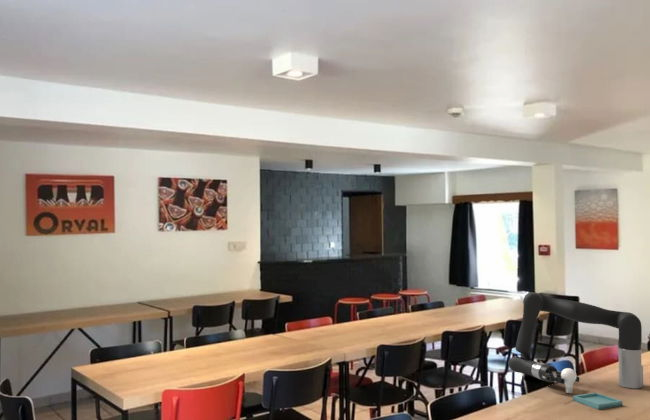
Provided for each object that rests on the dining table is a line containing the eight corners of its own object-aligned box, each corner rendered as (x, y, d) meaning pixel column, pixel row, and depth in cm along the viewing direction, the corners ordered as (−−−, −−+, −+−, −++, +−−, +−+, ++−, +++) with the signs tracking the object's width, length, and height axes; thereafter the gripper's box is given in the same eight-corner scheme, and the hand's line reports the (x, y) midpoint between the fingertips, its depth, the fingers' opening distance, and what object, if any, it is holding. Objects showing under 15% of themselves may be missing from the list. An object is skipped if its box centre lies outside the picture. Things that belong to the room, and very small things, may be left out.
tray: (596, 397, 241) (595, 392, 241) (622, 405, 229) (622, 400, 229) (573, 400, 236) (572, 395, 236) (598, 409, 224) (598, 404, 224)
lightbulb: (575, 392, 249) (575, 367, 249) (578, 396, 243) (577, 370, 243) (560, 391, 250) (559, 366, 251) (562, 395, 244) (561, 369, 245)
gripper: (531, 365, 258) (558, 373, 243) (555, 362, 263) (583, 370, 248) (532, 381, 257) (559, 391, 242) (556, 378, 263) (583, 387, 248)
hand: (571, 380), depth 245 cm, fingers open, 8 cm apart
